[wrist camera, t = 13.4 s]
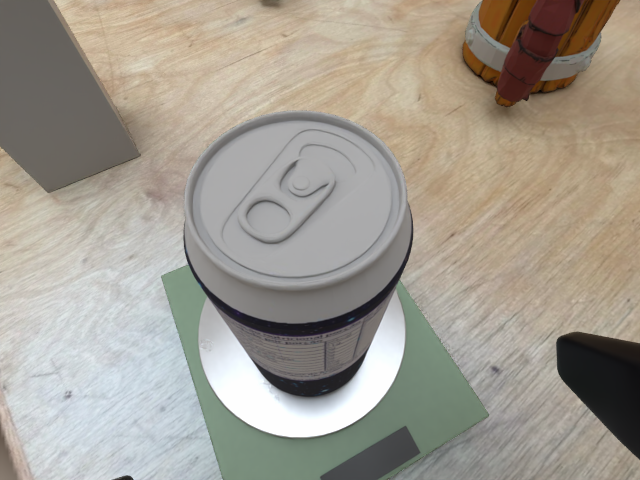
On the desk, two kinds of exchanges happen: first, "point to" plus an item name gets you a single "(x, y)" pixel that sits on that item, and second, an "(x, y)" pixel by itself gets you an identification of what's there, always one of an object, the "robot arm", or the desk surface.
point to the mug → (533, 43)
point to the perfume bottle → (54, 100)
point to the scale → (324, 398)
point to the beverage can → (299, 242)
